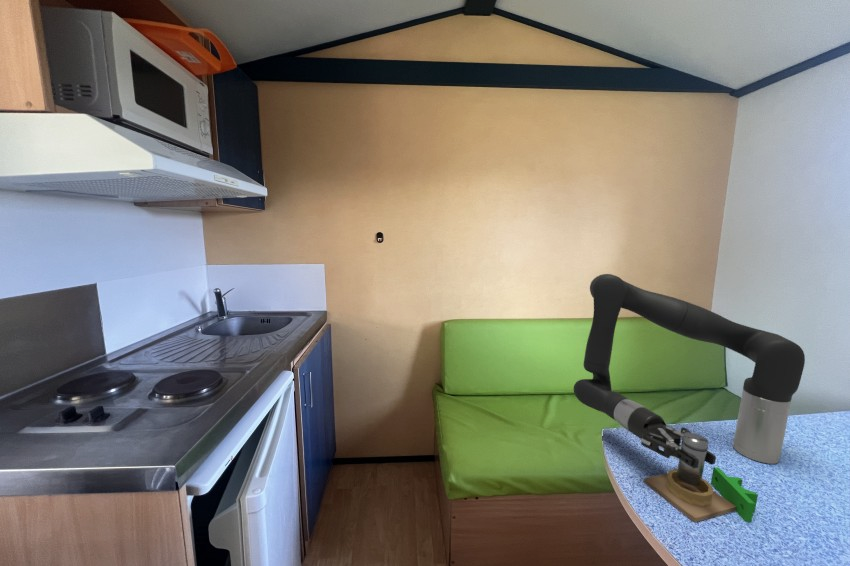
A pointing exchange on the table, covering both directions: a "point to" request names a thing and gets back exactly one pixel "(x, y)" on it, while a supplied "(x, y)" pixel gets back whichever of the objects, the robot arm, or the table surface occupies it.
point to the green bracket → (735, 493)
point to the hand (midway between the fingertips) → (705, 462)
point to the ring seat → (690, 496)
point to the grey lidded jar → (698, 449)
